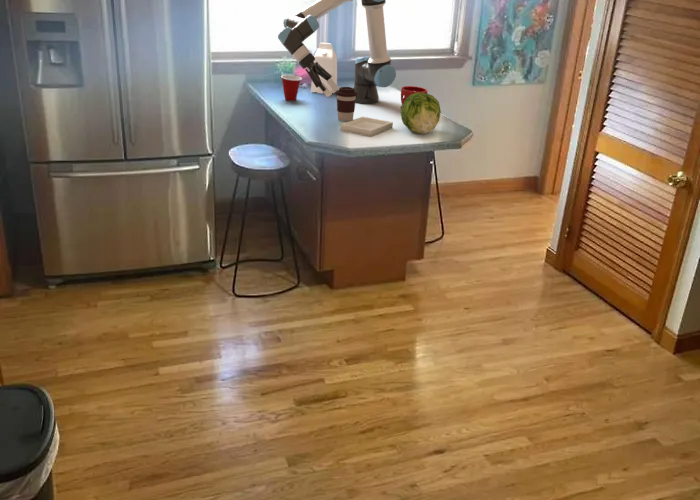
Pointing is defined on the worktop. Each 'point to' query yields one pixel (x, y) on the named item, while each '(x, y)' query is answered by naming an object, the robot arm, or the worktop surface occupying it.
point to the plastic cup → (290, 86)
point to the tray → (366, 126)
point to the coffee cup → (346, 103)
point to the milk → (326, 65)
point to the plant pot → (410, 92)
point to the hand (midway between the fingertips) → (333, 93)
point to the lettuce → (420, 113)
